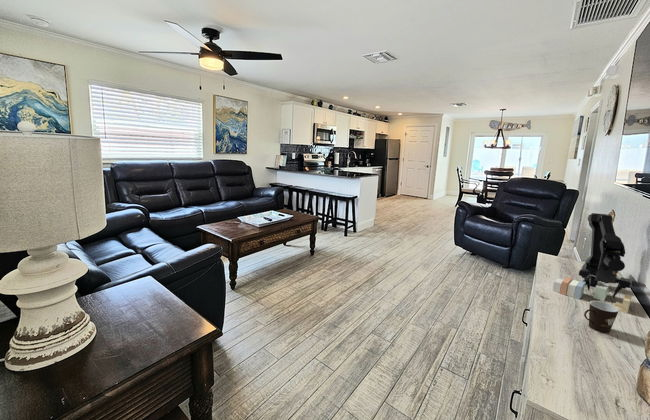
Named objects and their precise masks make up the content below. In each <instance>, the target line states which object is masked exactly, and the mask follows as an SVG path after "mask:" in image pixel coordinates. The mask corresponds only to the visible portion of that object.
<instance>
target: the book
mask: <svg viewBox="0 0 650 420" xmlns="http://www.w3.org/2000/svg"><path fill="white" fill-rule="evenodd" d="M609 288H610V283H604V282H600V281H598V284H597V285H596V287H595V288H594V292H593V299H597V300H598V301H599V300H600V301H602V302H604V301H605V300H606V298H607V296H608V294H609Z"/></svg>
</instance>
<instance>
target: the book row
mask: <svg viewBox="0 0 650 420" xmlns="http://www.w3.org/2000/svg"><path fill="white" fill-rule="evenodd" d="M585 283H586V282H584V281H583V280H576V279H573V278H572V277H568V276H566V277H565V278H559V277H557V278H556V279H555V280H554V282H553V285H552V292H554V293H555V292H557V293H559V294H560V295H564V296H567V297H572V298H574V299H577V300H580V299H581V298H582V296H583V295H584V293H585V288H586V284H585Z"/></svg>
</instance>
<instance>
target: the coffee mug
mask: <svg viewBox="0 0 650 420" xmlns="http://www.w3.org/2000/svg"><path fill="white" fill-rule="evenodd" d="M619 312H620V311H619V309H618V308H617V307H615V305H613V304H611V303H608V302H604V301H602V300H600V301H599V300H591V301H589V308H588V309H587V310H585V311H584V315H583V316H584V318H585V319H586V320H587V321H588V327H589V329H591V330H594V331H595V332H598V333H602V334H610V332H611V330H612V328H613V325H614V323H615V321H616V318H617V316H618V315H619ZM587 313H588V317H587Z"/></svg>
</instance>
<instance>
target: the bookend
mask: <svg viewBox="0 0 650 420" xmlns="http://www.w3.org/2000/svg"><path fill="white" fill-rule="evenodd" d="M632 297H633V295H630V294H625V296H624V298H623V300H622V301H623V302H618V301H615V304H614V306H615V307H617V308H618V309H619V312H620V313H623V314H628V312H629V309H630V305H631V302H632Z"/></svg>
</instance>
